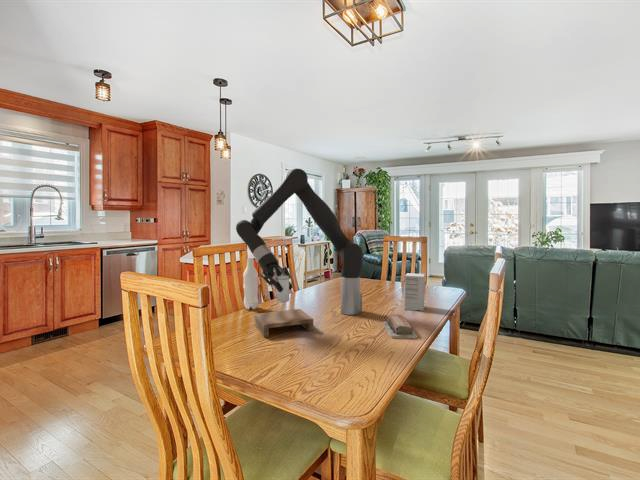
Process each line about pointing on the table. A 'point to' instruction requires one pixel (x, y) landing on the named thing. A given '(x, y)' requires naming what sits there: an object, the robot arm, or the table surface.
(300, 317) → the shelf riser
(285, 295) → the tumbler
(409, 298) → the supplement box
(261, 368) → the table surface
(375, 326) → the table surface
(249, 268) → the water bottle
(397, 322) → the packaged product
